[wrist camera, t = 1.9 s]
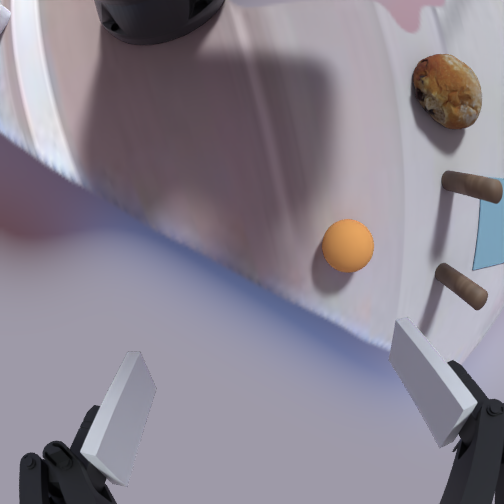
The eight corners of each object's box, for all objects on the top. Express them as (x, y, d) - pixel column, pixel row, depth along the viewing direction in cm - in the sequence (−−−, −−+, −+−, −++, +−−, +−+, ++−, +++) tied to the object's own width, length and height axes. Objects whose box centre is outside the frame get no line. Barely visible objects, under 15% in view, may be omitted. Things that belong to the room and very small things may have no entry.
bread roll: (446, 131, 30) (493, 134, 23) (413, 125, 26) (473, 125, 19) (435, 68, 27) (481, 64, 20) (399, 48, 23) (455, 38, 16)
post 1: (441, 170, 28) (490, 178, 20) (455, 171, 28) (503, 179, 20) (441, 190, 29) (489, 204, 20) (455, 190, 29) (502, 203, 20)
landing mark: (480, 176, 28) (481, 177, 28) (524, 180, 28) (525, 180, 28) (472, 269, 33) (473, 270, 33) (516, 258, 33) (517, 259, 32)
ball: (315, 216, 30) (330, 229, 25) (361, 212, 30) (383, 224, 25) (317, 264, 32) (330, 284, 26) (361, 258, 32) (381, 277, 26)
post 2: (436, 264, 32) (476, 292, 24) (449, 261, 32) (489, 288, 24) (433, 281, 33) (471, 312, 24) (446, 278, 33) (484, 307, 24)
